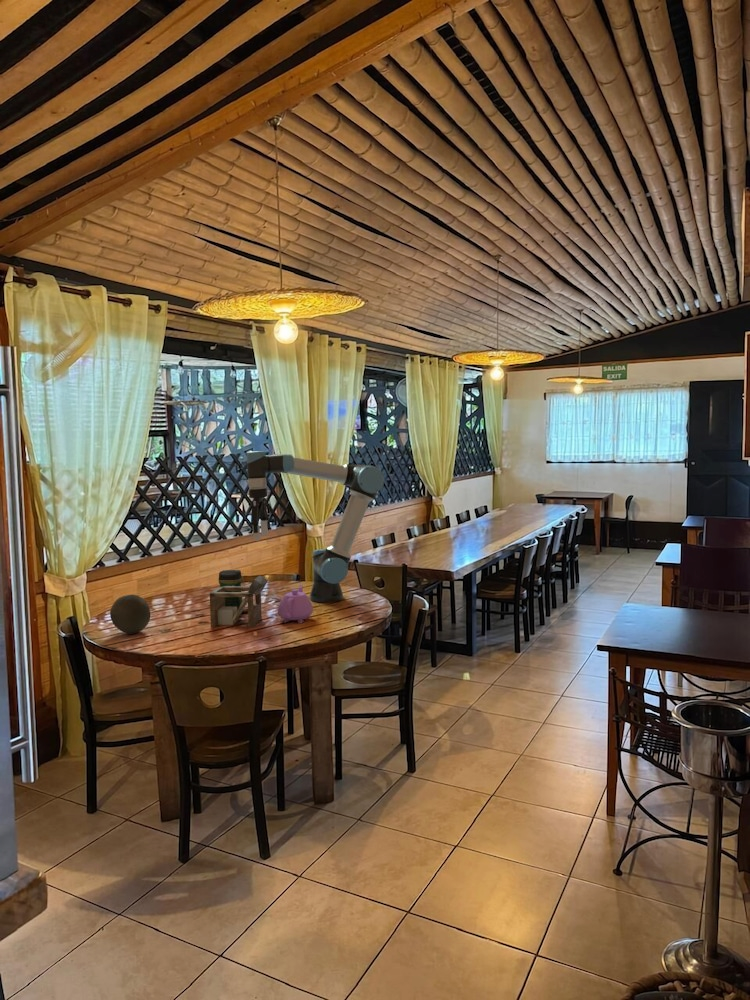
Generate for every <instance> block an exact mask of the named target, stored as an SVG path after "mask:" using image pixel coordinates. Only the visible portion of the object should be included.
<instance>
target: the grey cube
mask: <svg viewBox="0 0 750 1000" xmlns="http://www.w3.org/2000/svg"><path fill="white" fill-rule="evenodd" d="M236 612H237V607H221V608H220V609H219V610H218V625H217V626H233V625H235V623H237V622H238V618H237V619H236V620H234V621H232V619H233V617H234V615H235V614H236Z"/></svg>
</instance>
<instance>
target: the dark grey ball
mask: <svg viewBox="0 0 750 1000" xmlns="http://www.w3.org/2000/svg"><path fill="white" fill-rule="evenodd" d="M109 615H110V620H111V623H112V624H113V626H114V627H115V628H117V630H119V631H120V632H122V633H125V634H129V635H130V634H131V635H132V633H133V634H137V633H140V632H142V631H143V630H144V629H145V628H146V627H147V626H148V624H149V623H150V620H151V609H150V605H149V604H148V602H147V600H145V599H144V598H143V597H141V596H139V595H137V594H127V595H123V596H120V597H118V598H117V599H116V600H115V601H114V602H113V604H112V606H111V608H110V612H109Z"/></svg>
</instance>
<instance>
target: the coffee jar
mask: <svg viewBox="0 0 750 1000" xmlns="http://www.w3.org/2000/svg"><path fill="white" fill-rule="evenodd" d="M217 581H218V583H219V587H220V586H242V585H241V584H242V582H243V576H242V571H241V570H239V569H227V570H226V569H225V570H224V569H223V570H221V571H219V574H218V580H217ZM225 592H242V591H225ZM242 601H243V597H225V607H237V610H238V608H239V607H240V605H241V603H242ZM243 612H244V610H243V611H242V613H243Z"/></svg>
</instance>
